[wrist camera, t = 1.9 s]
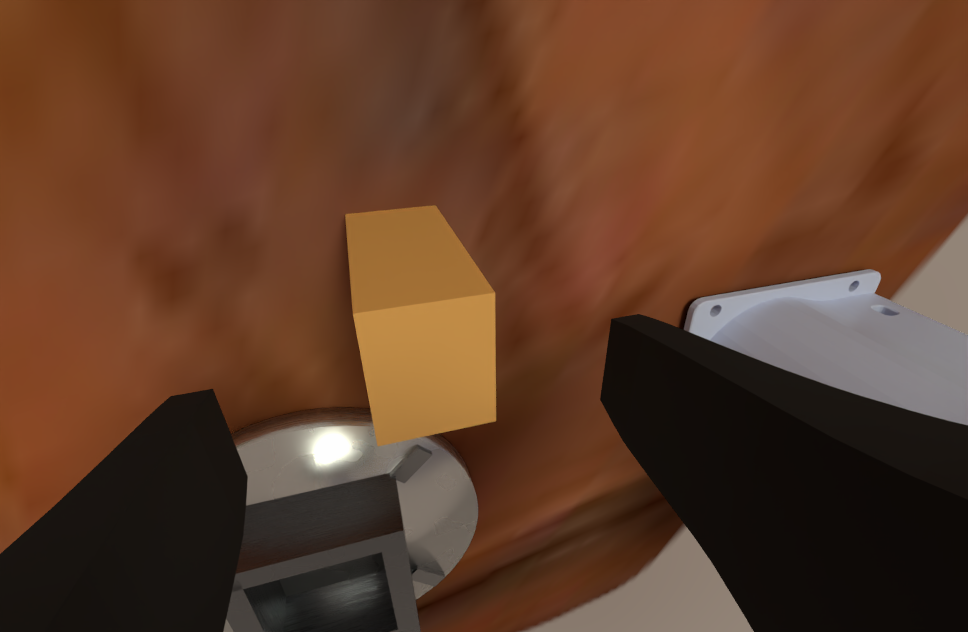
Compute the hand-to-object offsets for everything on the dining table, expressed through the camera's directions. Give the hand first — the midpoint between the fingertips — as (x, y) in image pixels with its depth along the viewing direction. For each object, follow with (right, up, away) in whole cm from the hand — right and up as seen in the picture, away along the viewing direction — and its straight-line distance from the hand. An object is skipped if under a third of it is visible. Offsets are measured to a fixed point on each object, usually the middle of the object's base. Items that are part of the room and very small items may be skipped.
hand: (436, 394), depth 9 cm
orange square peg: (-2, +3, +6) cm, 7 cm away
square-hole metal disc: (-5, -7, +10) cm, 13 cm away
